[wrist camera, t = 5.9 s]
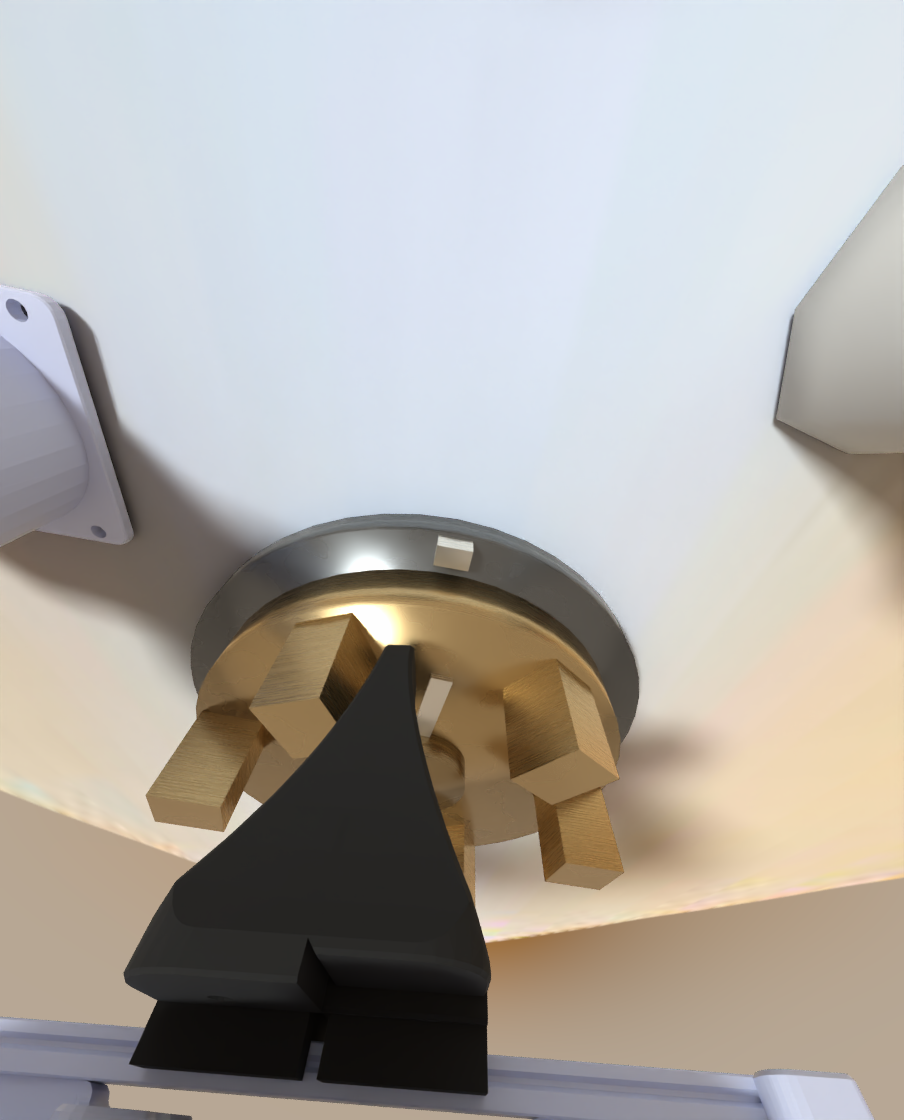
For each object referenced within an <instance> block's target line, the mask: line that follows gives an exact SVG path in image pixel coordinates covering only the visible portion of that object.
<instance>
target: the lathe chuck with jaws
mask: <svg viewBox="0 0 904 1120" xmlns="http://www.w3.org/2000/svg"><path fill="white" fill-rule="evenodd" d="M388 644H393V645H411V646H412V647H413V648H414V651H415V670H416V698H415V709H416V715H417V721H418V726H419V732H420V737H421V741H422V746H423V750H424V754H425V758H426V762H427V766H428V770H429V773H430V777H431V781H432V784H433V788H434V791H435V794H436V797H437V800H438V804H439V807H440V810H441V813H442V816H443V819H444V822H445V825H446V828H447V831H448V834H449V837H450V839H451V842H452V845H453V848H454V851H455V853H456V856H457V859H458V861H459V864H460V867H461V869H462V872H463V874H464V877H465V879H466V882H467V884H468V887H469V889H470V892H471V895H472V898H473V902H474V905H475V846H479V845H486V844H492V843H498V842H503V841H507V840H511V839H516V838H519V837H523V836H526V835H529V834H532V833H536V832H539V840H540V847H541V855H542V862H543V870H544V877H545V881H546V882H552V883H558V884H565V885H571V886H578V887H584V888H591V889H597V890H600V889H601V888H603V887H604V886H606V885H607V884H608V883H610V882H611V881H613V880H614V879H615V878H617V877H618V876H620V875H621V874H623V873H624V870H623V866H622V863H621V859H620V856H619V852H618V848H617V845H616V841H615V837H614V834H613V830H612V827H611V823H610V819H609V816H608V812H607V808H606V805H605V801H604V798H603V794H602V789H603V788H604V787H605V785H606V784H608V783H611V782H614V781H616V780H619V775H618V772H617V769H616V764H617V761H618V758H619V752H620V733H619V727H618V722H617V719H616V716H615V714H614V711H613V708H612V705H611V702H610V700H609V697H608V694H607V691H606V689H605V686H604V683H603V680H602V678H601V675H600V673H599V670H598V668H597V666H596V663H595V662H594V660H593V658H592V657H591V655H590V654H589V652H588V651H587V649H586V648H585V646H584V645H583V644H582V643H581V642H580V641H579V640H578V639H577V638H576V636H575V635H574V634H573V633H572V632H571V631H570V630H569V629H568V628H567V627H565V626H564V625H563V624H562V623H560V622H559V621H558V620H557V619H555V618H554V617H553V616H551V615H550V614H549V613H547V612H546V611H544V610H542V609H541V608H539V607H537V606H535V605H534V604H532V603H530V602H529V601H527V600H525V599H523V598H521V597H519V596H516V595H514V594H512V593H509V592H507V591H505V590H502V589H500V588H498V587H495V586H492V585H488V584H485V583H482V582H479V581H475V580H472V579H469V578H465V577H459V576H454V575H449V574H443V573H438V572H431V571H418V570H406V569H390V570H366V571H359V572H352V573H345V574H338V575H334V576H331V577H327V578H323V579H319V580H316V581H312V582H309V583H306V584H304V585H302V586H299V587H297V588H294V589H292V590H290V591H287V592H285V593H283V594H281V595H280V596H278V597H277V598H275V599H273V600H272V601H270V602H268V603H267V604H265V605H264V606H262V607H261V608H260V609H259V610H258V611H257V612H255V613H254V614H253V615H252V616H251V617H250V618H248V619H247V621H246V622H245V623H244V624H243V626H242V627H241V628H240V629H239V631H238V632H237V633H236V635H235V636H234V637H233V639H232V640H231V641H230V643H229V644H228V646H227V647H226V648H225V650H224V651H223V652H222V654H221V655H220V657H219V658H218V659H217V661H216V662H215V663H214V665H213V666H212V668H211V669H210V670H209V672H208V673H207V675H206V677H205V679H204V681H203V684H202V686H201V688H200V690H199V695H198V700H197V705H196V714H197V719H196V721H195V722H194V724H193V725H192V727H191V728H190V730H189V731H188V733H187V734H186V736H185V737H184V739H183V740H182V742H181V743H180V745H179V746H178V748H177V749H176V751H175V752H174V754H173V755H172V757H171V758H170V760H169V761H168V763H167V764H166V766H165V767H164V769H163V770H162V772H161V773H160V775H159V776H158V778H157V779H156V781H155V782H154V784H153V785H152V787H151V788H150V790H149V791H148V793H147V794H146V798H147V800H148V803H149V806H150V809H151V811H152V814H153V817H154V820H155V821H156V822H162V823H169V824H175V825H182V826H188V827H195V828H201V829H208V830H214V831H221V832H224V831H225V829H226V826H227V824H228V822H229V820H230V818H231V816H232V814H233V812H234V809H235V807H236V805H237V803H238V801H239V799H240V797H241V795H242V792H243V791H244V792H246V793H247V794H248V795H250V796H251V797H253V798H254V799H256V800H257V801H259V802H260V803H262V804H264V803H265V802H266V801H267V800H268V799H269V798H270V797H271V796H272V795H273V794H274V793H275V792H276V791H277V790H278V789H279V788H280V787H281V786H282V785H283V784H284V783H285V782H286V780H287V779H288V778H289V777H290V776H291V775H292V774H293V773H294V772H295V771H296V770H297V769H298V768H299V767H300V765H301V764H302V763H303V762H304V761H305V760H306V759H307V758H308V756H309V755H310V754H311V753H312V752H313V751H314V750H315V748H316V747H317V746H318V745H319V744H320V742H321V741H322V740H323V739H324V738H325V736H326V735H327V734H328V733H329V731H330V730H331V729H332V727H333V726H334V725H335V723H336V722H337V721H338V719H339V718H340V717H341V715H342V714H343V713H344V711H345V710H346V709H347V707H348V706H349V705H350V703H351V702H352V700H353V699H354V697H355V696H356V694H357V693H358V691H359V690H360V688H361V687H362V686H363V684H364V683H365V681H366V679H367V678H368V676H369V675H370V673H371V671H372V670H373V668H374V666H375V665H376V663H377V661H378V659H379V658H380V656H381V654H382V652H383V650H384V648H385V647H386V646H387V645H388Z"/></svg>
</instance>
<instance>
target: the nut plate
mask: <svg viewBox="0 0 904 1120" xmlns="http://www.w3.org/2000/svg"><path fill="white" fill-rule="evenodd" d="M390 569H406V570H418V571H431V572H438V573H443V574H449V575H454V576H459V577H465V578H469V579H472V580H475V581H479V582H482V583H485V584H488V585H492V586H495V587H498V588H500V589H502V590H505V591H507V592H509V593H512V594H514V595H516V596H519V597H521V598H523V599H525V600H527V601H529V602H530V603H532V604H534V605H535V606H537V607H539V608H541V609H542V610H544V611H546V612H547V613H549V614H550V615H551V616H553V617H554V618H555V619H557V620H558V621H559V622H560V623H562V624H563V625H564V626H565V627H567V628H568V629H569V630H570V631H571V632H572V633H573V634H574V635H575V636H576V638H577V639H578V640H579V641H580V642H581V643H582V644H583V645H584V646H585V648H586V649H587V651H588V652H589V654H590V655H591V657H592V658H593V660H594V662H595V663H596V666H597V668H598V670H599V673H600V675H601V678H602V680H603V683H604V686H605V689H606V691H607V694H608V697H609V700H610V702H611V705H612V708H613V711H614V714H615V716H616V719H617V722H618V727H619V733H620V744H621V743H622V741H623V739H624V738H625V736H626V735H627V733H628V731H629V729H630V726H631V724H632V722H633V719H634V717H635V713H636V708H637V704H638V699H639V677H638V673H637V669H636V664H635V660H634V656H633V654H632V652H631V650H630V648H629V645H628V643H627V641H626V639H625V637H624V635H623V633H622V630H621V628H620V626H619V624H618V622H617V620H616V618H615V616H614V614H613V613H612V611H611V610H610V609H609V607H608V606H607V604H606V603H605V602H604V600H603V599H602V597H601V596H600V595H599V594H598V593H597V592H596V591H595V590H594V589H593V588H592V587H591V586H590V585H589V584H588V583H587V582H586V581H585V580H584V579H583V578H582V577H581V576H580V575H579V574H578V573H577V572H575V571H574V570H572V569H571V568H570V567H568V566H567V565H566V564H564V563H563V562H562V561H560V560H559V559H558V558H556V557H555V556H553V555H551V554H549V553H547V552H545V551H544V550H542V549H540V548H538V547H536V546H534V545H532V544H531V543H529V542H527V541H525V540H522V539H519V538H517V537H514V536H512V535H509V534H507V533H504V532H501V531H499V530H496V529H494V528H490V527H486V526H482V525H478V524H474V523H470V522H466V521H462V520H458V519H451V518H444V517H436V516H428V515H421V514H378V515H369V516H360V517H350V518H344V519H340V520H336V521H332V522H328V523H324V524H319V525H315V526H312V527H310V528H307V529H304V530H302V531H299V532H297V533H294V534H292V535H289V536H287V537H284V538H282V539H281V540H279V541H277V542H275V543H274V544H272V545H270V546H268V547H267V548H265V549H263V550H262V551H260V552H258V553H257V554H256V555H255V556H254V557H252V558H251V559H250V560H249V561H247V562H246V563H245V564H244V565H243V566H241V567H240V568H239V569H238V570H237V571H236V572H235V573H234V575H233V576H232V577H231V578H230V579H229V580H228V581H227V582H226V583H225V585H224V586H223V587H222V588H221V589H220V590H219V592H218V593H217V594H216V595H215V597H214V598H213V599H212V600H211V601H210V603H209V604H208V605H207V607H206V608H205V610H204V612H203V614H202V616H201V618H200V620H199V622H198V624H197V626H196V630H195V634H194V638H193V641H192V645H191V670H192V675H193V681H194V685H195V688H196V691H197V693H198V695H199V690H200V688H201V686H202V684H203V681H204V679H205V677H206V675H207V673H208V672H209V670H210V669H211V668H212V666H213V665H214V663H215V662H216V661H217V659H218V658H219V657H220V655H221V654H222V652H223V651H224V650H225V648H226V647H227V646H228V644H229V643H230V641H231V640H232V639H233V637H234V636H235V635H236V633H237V632H238V631H239V629H240V628H241V627H242V626H243V624H244V623H245V622H246V621H247V619H248V618H250V617H251V616H252V615H253V614H254V613H255V612H257V611H258V610H259V609H260V608H261V607H262V606H264V605H265V604H267V603H268V602H270V601H272V600H273V599H275V598H277V597H278V596H280V595H281V594H283V593H285V592H287V591H290V590H292V589H294V588H297V587H299V586H302V585H304V584H306V583H309V582H312V581H316V580H319V579H323V578H327V577H331V576H334V575H338V574H345V573H352V572H359V571H366V570H390Z"/></svg>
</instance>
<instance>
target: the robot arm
mask: <svg viewBox="0 0 904 1120" xmlns="http://www.w3.org/2000/svg"><path fill="white" fill-rule="evenodd" d="M20 303H21V304H22V305H23V306H24V308H25V309H26V311H27V313H28V317H27V316H25V315H24V313H23V311H22V310H21V305H20ZM103 529H104V530H103ZM34 530H35V531H41V532H47V533H53V534H58V535H64V536H70V537H75V538H81V539H87V540H93V541H98V542H104V543H110V544H116V545H123V544H126V543H127V542H129V541H130V540H132V538H133V537H134V533H133V529H132V526H131V523H130V519H129V516H128V513H127V510H126V507H125V503H124V500H123V497H122V494H121V490H120V487H119V484H118V481H117V478H116V474H115V471H114V468H113V465H112V461H111V458H110V455H109V452H108V449H107V445H106V442H105V439H104V436H103V432H102V429H101V426H100V423H99V420H98V416H97V413H96V410H95V407H94V403H93V400H92V397H91V394H90V391H89V387H88V384H87V381H86V378H85V374H84V371H83V368H82V365H81V362H80V358H79V355H78V352H77V349H76V345H75V342H74V339H73V336H72V333H71V329H70V326H69V323H68V320H67V317H66V315H65V313H64V311H63V309H62V308H61V307H60V306H59V305H58V303H57V302H56V301H54V300H53V299H52V298H50V297H49V296H47V295H44V294H42V293H38V292H33V291H28V290H24V289H19V288H15V287H10V286H5V285H1V284H0V547H2V546H4V545H6V544H8V543H10V542H12V541H14V540H16V539H18V538H20V537H22V536H24V535H26V534H28V533H30V532H32V531H34ZM415 698H416V670H415V651H414V648H413V647H412V646H411V645H393V644H388V645H387V646H386V647H385V648H384V650H383V652H382V654H381V656H380V658H379V659H378V661H377V663H376V665H375V666H374V668H373V670H372V671H371V673H370V675H369V676H368V678H367V679H366V681H365V683H364V684H363V686H362V687H361V688H360V690H359V691H358V693H357V694H356V696H355V697H354V699H353V700H352V702H351V703H350V705H349V706H348V707H347V709H346V710H345V711H344V713H343V714H342V715H341V717H340V718H339V719H338V721H337V722H336V723H335V725H334V726H333V727H332V729H331V730H330V731H329V733H328V734H327V735H326V736H325V738H324V739H323V740H322V741H321V742H320V744H319V745H318V746H317V747H316V748H315V750H314V751H313V752H312V753H311V754H310V755H309V756H308V758H307V759H306V760H305V761H304V762H303V763H302V764H301V765H300V767H299V768H298V769H297V770H296V771H295V772H294V773H293V774H292V775H291V776H290V777H289V778H288V779H287V780H286V782H285V783H284V784H283V785H282V786H281V787H280V788H279V789H278V790H277V791H276V792H275V793H274V794H273V795H272V796H271V797H270V798H269V799H268V800H267V801H266V802H265V803H264V804H263V805H261V806H260V807H259V808H258V809H257V810H256V811H255V812H254V813H253V814H252V815H251V816H250V817H249V818H248V819H247V820H246V821H245V822H243V823H242V824H241V825H240V826H239V827H238V828H237V829H236V830H235V831H234V832H233V833H232V834H231V835H229V836H228V837H227V838H226V839H225V840H224V841H223V842H221V843H220V844H219V845H218V846H217V847H216V848H214V849H213V850H212V851H211V852H210V853H209V854H207V855H206V856H205V857H204V858H203V859H201V860H200V861H199V862H198V863H197V864H196V865H194V866H193V867H192V868H191V869H190V870H189V871H187V872H186V873H185V874H184V875H183V876H181V877H180V878H179V879H178V880H177V881H176V882H175V883H174V885H173V886H172V888H171V890H170V891H169V893H168V894H167V896H166V897H165V899H164V901H163V902H162V904H161V905H160V907H159V909H158V910H157V912H156V913H155V915H154V917H153V918H152V920H151V922H150V924H149V926H148V927H147V930H146V931H145V933H144V935H143V937H142V939H141V941H140V943H139V945H138V947H137V948H136V950H135V952H134V954H133V956H132V958H131V960H130V962H129V964H128V965H127V967H126V969H125V971H124V977H125V982H126V983H127V984H128V985H129V986H131V987H133V988H134V989H136V990H139V991H140V992H142V993H144V994H146V995H148V996H150V997H152V998H154V999H156V1000H158V1001H157V1003H156V1006H155V1007H154V1010H153V1012H152V1014H151V1016H150V1018H149V1021H148V1023H147V1025H146V1027H145V1028H140V1027H127V1026H114V1025H101V1024H88V1023H75V1022H61V1021H49V1020H37V1019H24V1018H11V1017H0V1120H192V1117H191V1116H185V1115H176V1114H165V1113H157V1112H150V1111H139V1110H129V1109H118V1108H110V1106H109V1102H108V1100H109V1089H108V1086H107V1085H105V1084H113V1085H126V1086H138V1087H150V1088H162V1089H174V1090H186V1091H198V1092H211V1093H223V1094H236V1095H247V1096H259V1097H271V1098H285V1099H295V1100H296V1099H297V1100H307V1101H320V1102H332V1103H344V1104H356V1105H368V1106H380V1107H393V1108H405V1109H417V1110H430V1111H441V1112H453V1113H465V1114H477V1115H490V1116H502V1117H514V1118H527V1119H533V1120H875V1119H874V1117H873V1116H872V1113H871V1112H870V1109H869V1107H868V1106H867V1103H866V1102H865V1099H864V1097H863V1095H862V1093H861V1092H860V1089H859V1087H858V1085H857V1083H856V1081H855V1080H854V1079H853V1078H851V1077H850V1076H849V1075H848V1074H844V1073H831V1072H818V1071H805V1070H792V1069H767V1070H761V1071H757V1072H755V1074H754V1075H744V1074H731V1073H718V1072H706V1071H693V1070H680V1069H667V1068H654V1067H642V1066H629V1065H616V1064H603V1063H589V1062H576V1061H564V1060H551V1059H539V1058H526V1057H525V1058H524V1057H513V1056H500V1055H487V1024H488V1010H487V1009H488V1007H487V990H488V987H489V983H490V980H491V970H490V961H489V957H488V952H487V949H486V945H485V941H484V937H483V934H482V930H481V926H480V923H479V919H478V916H477V912H476V909H475V905H474V902H473V898H472V895H471V892H470V889H469V887H468V884H467V882H466V879H465V877H464V874H463V872H462V869H461V867H460V864H459V861H458V859H457V856H456V853H455V851H454V848H453V845H452V842H451V839H450V837H449V834H448V831H447V828H446V825H445V822H444V819H443V816H442V813H441V810H440V807H439V804H438V800H437V797H436V794H435V791H434V788H433V784H432V781H431V777H430V773H429V770H428V766H427V762H426V758H425V754H424V750H423V746H422V741H421V737H420V732H419V726H418V721H417V715H416V709H415Z"/></svg>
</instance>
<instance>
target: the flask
mask: <svg viewBox="0 0 904 1120" xmlns="http://www.w3.org/2000/svg"><path fill="white" fill-rule="evenodd" d="M776 419H777V420H779V421H781V422H783V423H785V424H787V425H790V426H792V427H794V428H796V429H798V430H800V431H802V432H804V433H806V434H808V435H810V436H812V437H814V438H816V439H818V440H820V441H822V442H824V443H826V444H828V445H830V446H832V447H834V448H837V449H839V450H841V451H843V452H845V453H847V454H885V453H904V165H903V166H902V167H901V168H900V169H899V171H898V172H897V173H896V175H895V176H894V177H893V179H892V180H891V181H890V183H889V184H888V185H887V187H886V188H885V189H884V191H883V192H882V193H881V195H880V196H879V197H878V199H877V200H876V202H875V203H874V204H873V206H872V207H871V208H870V210H869V211H868V212H867V214H866V215H865V216H864V218H863V219H862V220H861V222H860V223H859V224H858V226H857V227H856V228H855V230H854V231H853V232H852V234H851V235H850V236H849V238H848V239H847V240H846V242H845V243H844V244H843V246H842V247H841V248H840V250H839V251H838V252H837V254H836V255H835V256H834V258H833V259H832V260H831V262H830V263H829V265H828V266H827V267H826V269H825V270H824V271H823V273H822V274H821V275H820V277H819V278H818V279H817V281H816V282H815V283H814V285H813V286H812V287H811V289H810V290H809V291H808V293H807V294H806V295H805V297H804V298H803V299H802V301H801V302H800V303H799V305H798V306H797V307H796V309H795V313H794V318H793V324H792V330H791V336H790V342H789V347H788V353H787V359H786V365H785V370H784V376H783V382H782V388H781V393H780V399H779V405H778V411H777V416H776Z"/></svg>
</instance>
